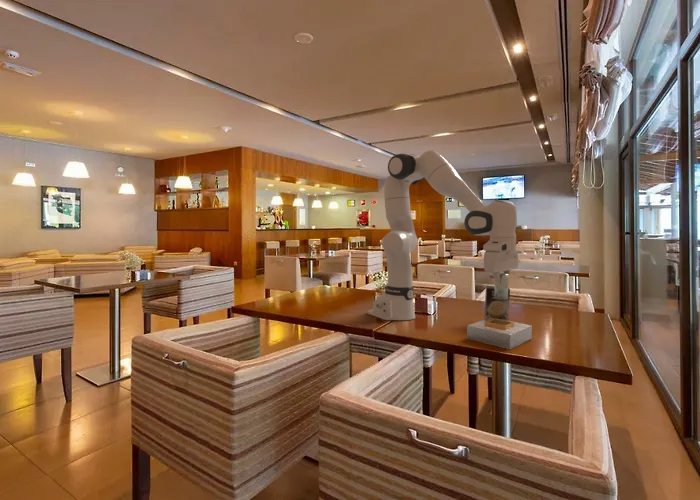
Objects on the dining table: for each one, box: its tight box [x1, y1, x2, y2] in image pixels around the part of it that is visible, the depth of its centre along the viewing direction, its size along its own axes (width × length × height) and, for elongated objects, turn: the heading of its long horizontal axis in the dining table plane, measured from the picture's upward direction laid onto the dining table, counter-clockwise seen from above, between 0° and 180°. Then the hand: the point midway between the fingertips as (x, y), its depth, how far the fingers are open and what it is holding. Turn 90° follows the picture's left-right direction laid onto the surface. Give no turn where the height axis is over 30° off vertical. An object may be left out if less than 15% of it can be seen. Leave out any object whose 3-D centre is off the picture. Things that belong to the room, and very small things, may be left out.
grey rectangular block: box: [466, 317, 533, 350], centre depth 141 cm, size 16×18×6 cm
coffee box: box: [483, 285, 511, 321], centre depth 159 cm, size 9×6×16 cm
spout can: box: [489, 272, 510, 299], centre depth 140 cm, size 7×5×9 cm
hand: (501, 283), depth 140 cm, fingers closed on spout can, 5 cm apart
